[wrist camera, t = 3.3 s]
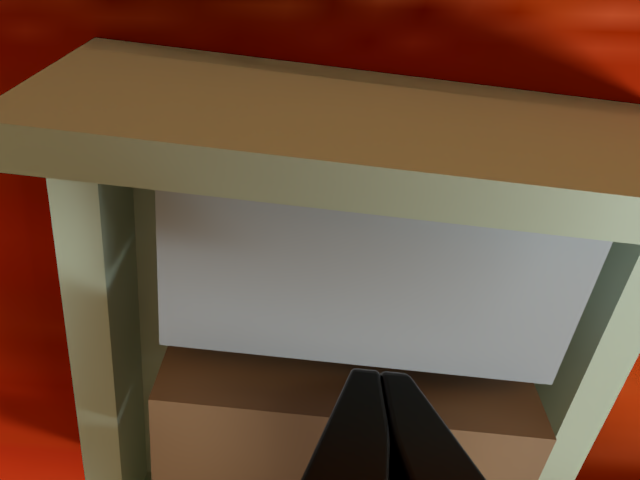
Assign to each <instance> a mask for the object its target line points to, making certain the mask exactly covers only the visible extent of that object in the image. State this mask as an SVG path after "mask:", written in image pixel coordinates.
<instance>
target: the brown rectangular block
mask: <svg viewBox="0 0 640 480" xmlns="http://www.w3.org/2000/svg"><path fill="white" fill-rule="evenodd" d="M354 368H359V369H369V370H376V371H378V372H379V374H381V373H382V372H384V371H389V372H399V373H406V374H408V375H409V376H411V378H412V379H413V380H414V382H415V383H416V384H417V386H418V387H419V389H420V390H421V391H422V393H423V394H424V395H425V397H426V398H427V399H428V401H429V402H430V404H431V405H432V406H433V408H434V409H435V410H436V412H437V413H438V414H439V416H440V417H441V419H442V420H443V421H444V423H445V424H446V425H447V427H448V428H449V429H450V431H451V432H452V434H453V435H454V436H455V438H456V439H457V440H458V442H459V443H460V444H461V446H462V447H463V449H464V450H465V451H466V453H467V454H468V455H469V457H470V458H471V460H472V461H473V462H474V464H475V465H476V466H477V468H478V469H479V470H480V472H481V473H482V475H483V476H484V477H485V479H486V480H538V479H539V477H540V475H541V473H542V471H543V469H544V466H545V464H546V462H547V460H548V458H549V456H550V453H551V451H552V449H553V447H554V445H555V443H556V441H557V439H556V437H555V434H554V432H553V429H552V427H551V424H550V422H549V420H548V417H547V415H546V412H545V410H544V407H543V405H542V402H541V400H540V397H539V395H538V392H537V390H536V387H535V385H534V383H528V382H518V381H509V380H499V379H489V378H479V377H469V376H460V375H450V374H440V373H430V372H421V371H411V370H401V369H391V368H382V367H372V366H362V365H352V364H343V363H333V362H323V361H313V360H304V359H294V358H284V357H274V356H265V355H255V354H245V353H235V352H226V351H216V350H206V349H196V348H187V347H177V346H168V347H167V349H166V352H165V355H164V358H163V360H162V363H161V366H160V369H159V371H158V374H157V377H156V380H155V382H154V385H153V388H152V390H151V393H150V396H149V399H148V408H149V431H150V454H151V477H152V480H301V478H302V476H303V474H304V472H305V470H306V467H307V465H308V463H309V461H310V459H311V457H312V454H313V452H314V450H315V448H316V446H317V443H318V441H319V439H320V437H321V435H322V433H323V430H324V428H325V426H326V424H327V422H328V419H329V417H330V415H331V413H332V411H333V409H334V406H335V404H336V402H337V400H338V398H339V395H340V393H341V391H342V389H343V387H344V385H345V382H346V380H347V378H348V376H349V374H350V372H351V370H352V369H354Z"/></svg>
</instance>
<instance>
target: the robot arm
mask: <svg viewBox="0 0 640 480" xmlns="http://www.w3.org/2000/svg"><path fill="white" fill-rule="evenodd" d="M301 480H486V479H485V477H484V476H483V475H482V473H481V472H480V470H479V469H478V468H477V466H476V465H475V464H474V462H473V461H472V460H471V458H470V457H469V455H468V454H467V453H466V451H465V450H464V449H463V447H462V446H461V444H460V443H459V442H458V440H457V439H456V438H455V436H454V435H453V434H452V432H451V431H450V429H449V428H448V427H447V425H446V424H445V423H444V421H443V420H442V419H441V417H440V416H439V414H438V413H437V412H436V410H435V409H434V408H433V406H432V405H431V404H430V402H429V401H428V399H427V398H426V397H425V395H424V394H423V393H422V391H421V390H420V389H419V387H418V386H417V384H416V383H415V382H414V380H413V379H412V378H411V376H409V375H408V374H406V373H399V372H389V371H384V372H382V373H381V374H379V372H378V371H376V370H369V369H359V368H354V369H352V370H351V372H350V374H349V376H348V378H347V380H346V382H345V385H344V387H343V389H342V391H341V393H340V395H339V398H338V400H337V402H336V404H335V406H334V409H333V411H332V413H331V415H330V417H329V419H328V422H327V424H326V426H325V428H324V430H323V433H322V435H321V437H320V439H319V441H318V443H317V446H316V448H315V450H314V452H313V454H312V457H311V459H310V461H309V463H308V465H307V467H306V470H305V472H304V474H303V476H302V478H301Z"/></svg>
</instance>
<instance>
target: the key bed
mask: <svg viewBox="0 0 640 480" xmlns="http://www.w3.org/2000/svg"><path fill="white" fill-rule="evenodd" d="M0 173H8V174H17V175H26V176H35V177H44V178H46V183H47V191H48V198H49V206H50V214H51V221H52V229H53V237H54V244H55V252H56V260H57V267H58V275H59V283H60V290H61V298H62V306H63V313H64V321H65V329H66V336H67V344H68V352H69V359H70V367H71V375H72V382H73V390H74V398H75V405H76V413H77V421H78V428H79V436H80V444H81V451H82V459H83V466H84V474H85V480H152V477H151V454H150V431H149V408H148V399H149V396H150V393H151V390H152V388H153V385H154V382H155V380H156V377H157V374H158V371H159V369H160V366H161V363H162V360H163V358H164V355H165V352H166V349H167V347H168V346H167V345H159V314H158V279H157V244H156V209H155V190H159V191H168V192H177V193H185V194H194V195H203V196H212V197H221V198H230V199H239V200H247V201H256V202H265V203H274V204H283V205H292V206H301V207H310V208H318V209H327V210H336V211H345V212H354V213H363V214H372V215H380V216H389V217H398V218H407V219H416V220H425V221H434V222H442V223H451V224H460V225H469V226H478V227H487V228H496V229H505V230H513V231H522V232H531V233H540V234H549V235H558V236H567V237H575V238H584V239H593V240H602V241H611V242H613V243H612V246H611V248H610V250H609V253H608V255H607V257H606V260H605V262H604V264H603V267H602V269H601V271H600V274H599V276H598V278H597V281H596V283H595V285H594V288H593V290H592V292H591V295H590V297H589V299H588V302H587V304H586V306H585V309H584V311H583V313H582V316H581V318H580V320H579V323H578V325H577V327H576V330H575V332H574V334H573V337H572V339H571V342H570V344H569V346H568V349H567V351H566V353H565V356H564V358H563V360H562V363H561V365H560V367H559V370H558V372H557V374H556V377H555V379H554V381H553V384H552V385H548V384H538V383H534V385H535V387H536V390H537V392H538V395H539V397H540V400H541V402H542V405H543V407H544V410H545V412H546V415H547V417H548V420H549V422H550V424H551V427H552V429H553V432H554V434H555V437H556V439H557V441H556V443H555V445H554V447H553V449H552V451H551V453H550V456H549V458H548V460H547V462H546V464H545V466H544V469H543V471H542V473H541V475H540V477H539V479H538V480H575V479H576V477H577V475H578V473H579V471H580V469H581V467H582V465H583V463H584V461H585V459H586V457H587V455H588V453H589V451H590V449H591V447H592V445H593V443H594V441H595V439H596V437H597V435H598V433H599V432H600V430H601V428H602V426H603V424H604V422H605V420H606V418H607V416H608V414H609V412H610V410H611V408H612V406H613V404H614V402H615V400H616V398H617V396H618V394H619V392H620V390H621V388H622V386H623V385H624V383H625V381H626V379H627V377H628V375H629V373H630V371H631V369H632V367H633V365H634V363H635V361H636V359H637V357H638V355H639V353H640V104H634V103H626V102H618V101H610V100H601V99H593V98H585V97H577V96H569V95H561V94H552V93H544V92H536V91H528V90H520V89H512V88H504V87H495V86H487V85H479V84H471V83H463V82H455V81H446V80H438V79H430V78H422V77H414V76H406V75H397V74H389V73H381V72H373V71H365V70H357V69H349V68H340V67H332V66H324V65H316V64H308V63H300V62H291V61H283V60H275V59H267V58H259V57H251V56H242V55H234V54H226V53H218V52H210V51H202V50H193V49H185V48H177V47H169V46H161V45H153V44H145V43H136V42H128V41H120V40H112V39H104V38H96V37H95V38H93V39H92V40H90V41H88V42H87V43H85V44H84V45H82V46H80V47H79V48H77V49H75V50H74V51H72V52H71V53H69V54H67V55H66V56H64V57H62V58H61V59H59V60H58V61H56V62H54V63H53V64H51V65H49V66H48V67H46V68H45V69H43V70H41V71H40V72H38V73H36V74H35V75H33V76H32V77H30V78H28V79H27V80H25V81H23V82H22V83H20V84H19V85H17V86H15V87H14V88H12V89H10V90H9V91H7V92H6V93H4V94H2V95H1V96H0Z"/></svg>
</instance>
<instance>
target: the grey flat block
mask: <svg viewBox="0 0 640 480" xmlns="http://www.w3.org/2000/svg"><path fill="white" fill-rule="evenodd" d="M155 209H156V244H157V279H158V314H159V345H167V346H177V347H187V348H196V349H206V350H216V351H226V352H235V353H245V354H255V355H265V356H274V357H284V358H294V359H304V360H313V361H323V362H333V363H343V364H352V365H362V366H372V367H382V368H391V369H401V370H411V371H421V372H430V373H440V374H450V375H460V376H469V377H479V378H489V379H499V380H509V381H518V382H528V383H538V384H548V385H552V384H553V381H554V379H555V377H556V374H557V372H558V370H559V367H560V365H561V363H562V360H563V358H564V356H565V353H566V351H567V349H568V346H569V344H570V342H571V339H572V337H573V334H574V332H575V330H576V327H577V325H578V323H579V320H580V318H581V316H582V313H583V311H584V309H585V306H586V304H587V302H588V299H589V297H590V295H591V292H592V290H593V288H594V285H595V283H596V281H597V278H598V276H599V274H600V271H601V269H602V267H603V264H604V262H605V260H606V257H607V255H608V253H609V250H610V248H611V246H612V243H613V242H611V241H602V240H593V239H584V238H575V237H567V236H558V235H549V234H540V233H531V232H522V231H513V230H505V229H496V228H487V227H478V226H469V225H460V224H451V223H442V222H434V221H425V220H416V219H407V218H398V217H389V216H380V215H372V214H363V213H354V212H345V211H336V210H327V209H318V208H310V207H301V206H292V205H283V204H274V203H265V202H256V201H247V200H239V199H230V198H221V197H212V196H203V195H194V194H185V193H177V192H168V191H159V190H155Z"/></svg>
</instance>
